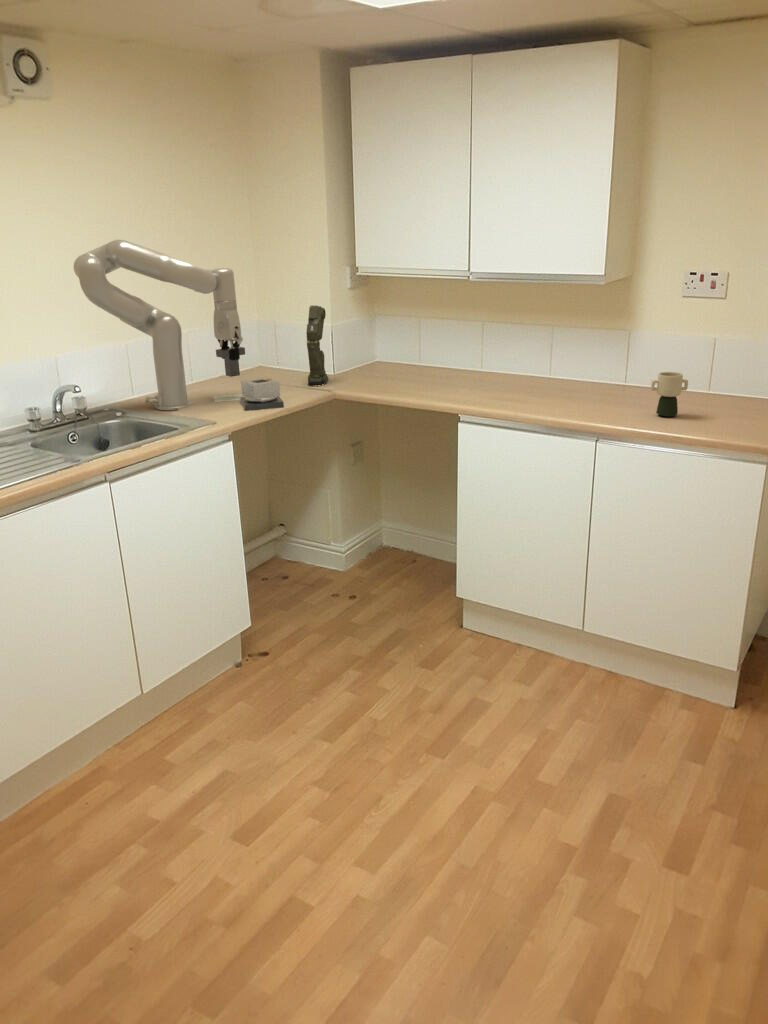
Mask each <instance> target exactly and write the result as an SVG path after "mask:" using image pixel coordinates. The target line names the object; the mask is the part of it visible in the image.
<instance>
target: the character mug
mask: <svg viewBox="0 0 768 1024" xmlns="http://www.w3.org/2000/svg"><path fill="white" fill-rule="evenodd" d="M683 377H684V375H683V373H680V372H677V371H664V372H659V373H658V375H657V379H652V380H651V386H650V387H651V388H650V389H651V391H652V392H653V391H654V392H656V393H657V395H659V396H660V397H659V398H658V399H659V400H658V402H657V403H658V404H657V406H656V407H657V409H656V415H660V416H661V417H663V416H664V417H675V416H677V415H678V414H679V413H678V412H679V411H678V398H677V397H679V396H681V395H682V391H687V390H688V386H689V379H683ZM656 384H657V386H656V387H655V385H656ZM683 384H684V386H682V385H683Z"/></svg>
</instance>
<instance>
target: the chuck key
mask: <svg viewBox="0 0 768 1024" xmlns="http://www.w3.org/2000/svg"><path fill="white" fill-rule="evenodd" d="M230 349H232V348H231V346H229V348H224V349H221V348H217V349H215V355H216V356H215V357H217V358H221V359H222V358H224V359H223V361H224V370H225V372H224V373H225V376H226V377H231V378H232V377H233V378H234V377H239V376H240V375H241V373H240V372H241V371H240V363H239V362H240V361H239V360H240V359H239V360H234V361H233V360H231V351H230ZM243 355H246V347H244V346H240V348H239V356H243Z"/></svg>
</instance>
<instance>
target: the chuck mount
mask: <svg viewBox="0 0 768 1024" xmlns="http://www.w3.org/2000/svg"><path fill="white" fill-rule="evenodd" d="M239 401H240V403H241V405H242V406H243V408H244V411H245V412H248V411H249V412H250V410H251V411H260V410H272V409H282V408H283V409H284V407H285V405H284V400H283V399H282V398H281V396H277V399H275V400H272V401H267V402H249V401H246V400H245V397H240V400H239Z"/></svg>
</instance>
